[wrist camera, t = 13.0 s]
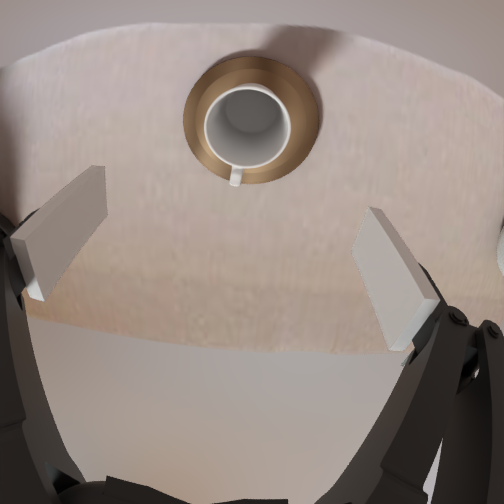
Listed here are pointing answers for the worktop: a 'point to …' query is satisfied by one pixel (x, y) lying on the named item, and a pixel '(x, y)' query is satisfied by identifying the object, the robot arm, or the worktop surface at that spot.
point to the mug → (247, 128)
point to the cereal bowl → (501, 251)
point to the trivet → (282, 85)
